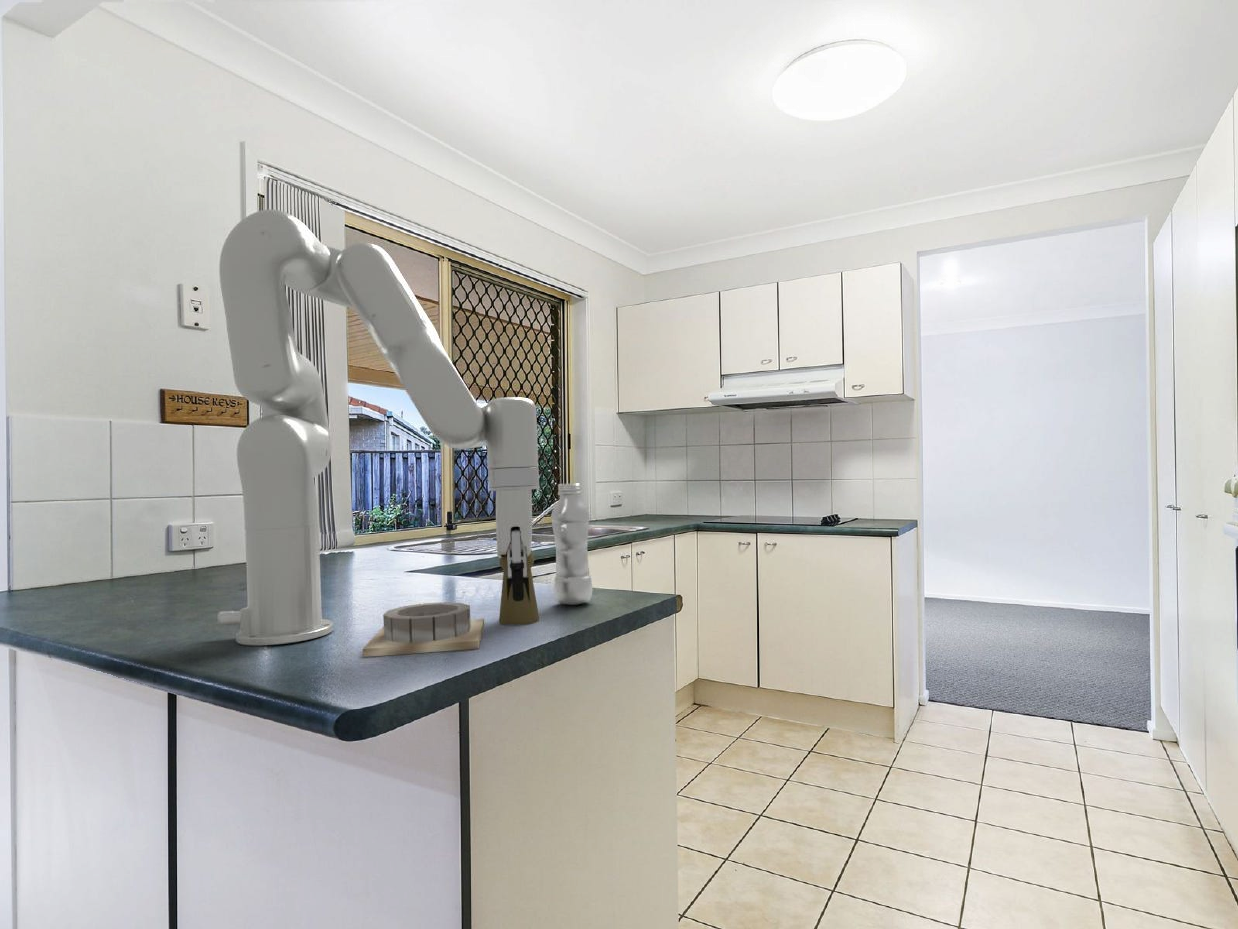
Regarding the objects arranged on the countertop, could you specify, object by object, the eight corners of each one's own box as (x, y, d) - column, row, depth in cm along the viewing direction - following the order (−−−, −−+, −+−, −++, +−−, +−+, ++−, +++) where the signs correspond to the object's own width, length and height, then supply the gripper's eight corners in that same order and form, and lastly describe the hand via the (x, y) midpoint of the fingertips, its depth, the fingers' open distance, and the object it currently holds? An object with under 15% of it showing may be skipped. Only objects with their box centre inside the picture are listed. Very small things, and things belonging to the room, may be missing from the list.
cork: (536, 624, 101) (533, 548, 101) (494, 625, 101) (492, 550, 101) (542, 615, 107) (539, 544, 107) (503, 617, 107) (500, 545, 107)
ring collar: (362, 657, 86) (361, 624, 86) (384, 632, 100) (383, 604, 100) (478, 648, 88) (477, 616, 88) (484, 625, 102) (483, 598, 102)
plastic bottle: (598, 600, 118) (593, 482, 118) (585, 608, 111) (581, 483, 112) (562, 600, 120) (558, 484, 120) (548, 608, 113) (543, 485, 113)
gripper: (490, 481, 112) (495, 595, 112) (485, 481, 96) (491, 615, 96) (537, 479, 113) (542, 592, 113) (540, 479, 97) (545, 611, 97)
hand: (518, 601), depth 104 cm, fingers closed on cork, 3 cm apart
